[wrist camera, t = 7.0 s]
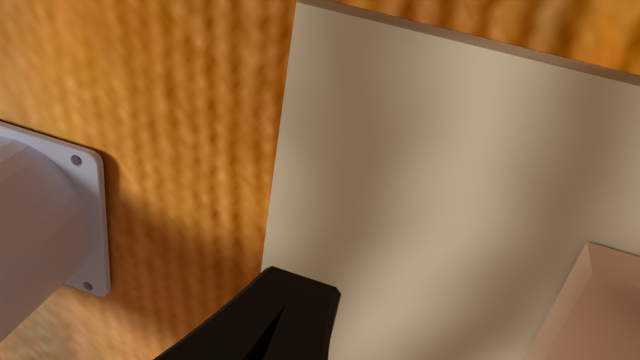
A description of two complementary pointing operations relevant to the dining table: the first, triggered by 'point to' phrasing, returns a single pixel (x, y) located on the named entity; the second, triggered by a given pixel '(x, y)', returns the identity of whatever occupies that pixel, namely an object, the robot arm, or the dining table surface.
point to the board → (444, 181)
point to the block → (594, 310)
